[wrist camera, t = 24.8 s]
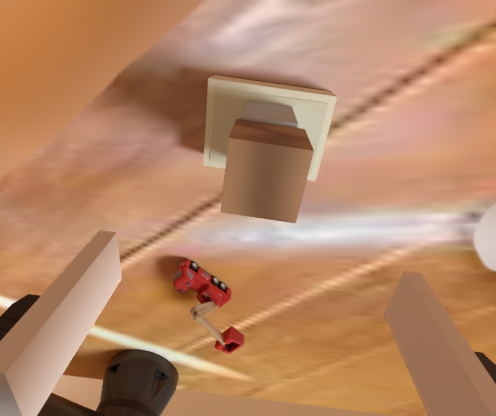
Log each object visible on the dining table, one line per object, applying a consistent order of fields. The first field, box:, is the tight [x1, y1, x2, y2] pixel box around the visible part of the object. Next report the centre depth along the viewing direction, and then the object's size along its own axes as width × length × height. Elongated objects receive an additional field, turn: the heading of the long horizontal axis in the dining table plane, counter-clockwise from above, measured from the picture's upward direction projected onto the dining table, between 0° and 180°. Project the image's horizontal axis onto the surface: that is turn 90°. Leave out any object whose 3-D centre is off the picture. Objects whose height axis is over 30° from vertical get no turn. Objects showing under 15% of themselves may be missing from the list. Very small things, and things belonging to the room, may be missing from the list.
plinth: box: [203, 75, 337, 181], centre depth 37 cm, size 14×10×4 cm
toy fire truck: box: [173, 260, 244, 354], centre depth 48 cm, size 3×14×10 cm, turn 47°
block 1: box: [241, 101, 298, 128], centre depth 31 cm, size 5×7×8 cm
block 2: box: [221, 119, 314, 223], centre depth 25 cm, size 6×6×6 cm
